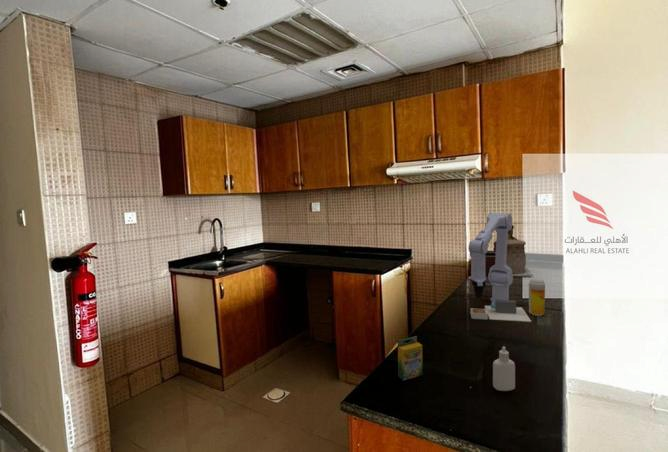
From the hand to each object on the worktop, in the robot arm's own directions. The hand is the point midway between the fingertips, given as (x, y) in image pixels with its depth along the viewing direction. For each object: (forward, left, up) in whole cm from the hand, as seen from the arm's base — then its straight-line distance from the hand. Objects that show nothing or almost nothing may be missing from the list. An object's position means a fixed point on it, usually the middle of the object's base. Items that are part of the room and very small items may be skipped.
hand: (478, 297), depth 155 cm
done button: (0, 0, -7) cm, 8 cm away
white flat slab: (-6, +12, -8) cm, 16 cm away
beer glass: (-7, +24, -9) cm, 27 cm away
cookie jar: (-87, +27, -9) cm, 91 cm away
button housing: (0, 0, -8) cm, 8 cm away
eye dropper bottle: (+58, +1, -9) cm, 59 cm away
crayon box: (+57, -25, -9) cm, 63 cm away
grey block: (-7, +12, -8) cm, 16 cm away
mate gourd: (-60, +11, -9) cm, 62 cm away
